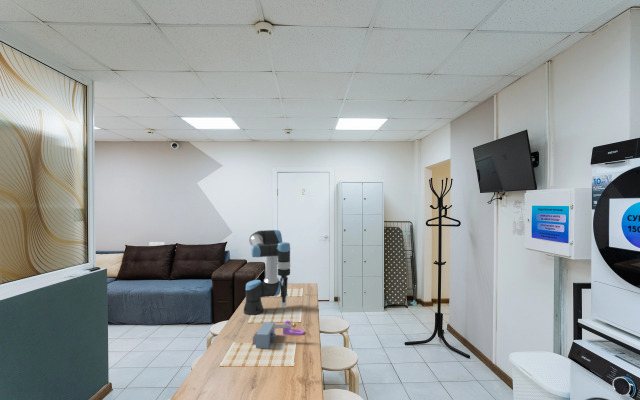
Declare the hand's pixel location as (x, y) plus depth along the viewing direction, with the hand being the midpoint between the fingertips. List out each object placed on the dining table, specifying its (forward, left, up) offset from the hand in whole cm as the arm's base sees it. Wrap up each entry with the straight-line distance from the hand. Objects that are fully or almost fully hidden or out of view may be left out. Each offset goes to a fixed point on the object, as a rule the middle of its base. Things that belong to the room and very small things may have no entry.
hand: (284, 307), depth 182 cm
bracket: (-12, +4, -21) cm, 24 cm away
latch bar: (0, 0, -13) cm, 13 cm away
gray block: (+1, -12, -21) cm, 24 cm away
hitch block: (0, -11, -21) cm, 23 cm away
